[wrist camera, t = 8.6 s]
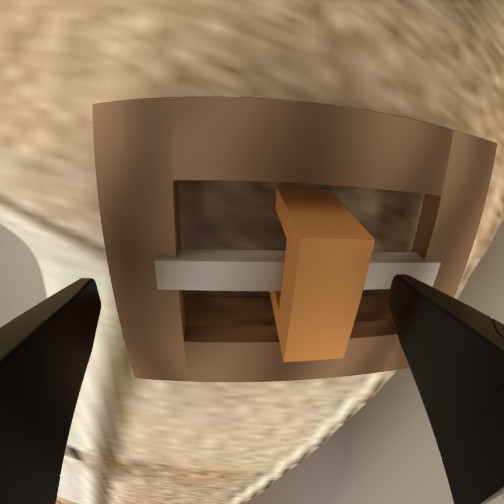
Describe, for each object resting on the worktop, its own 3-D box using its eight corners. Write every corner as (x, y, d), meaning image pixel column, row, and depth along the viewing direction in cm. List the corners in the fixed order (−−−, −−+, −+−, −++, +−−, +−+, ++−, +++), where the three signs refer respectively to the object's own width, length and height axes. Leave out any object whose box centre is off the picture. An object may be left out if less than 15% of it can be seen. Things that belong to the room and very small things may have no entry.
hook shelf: (435, 124, 19) (500, 144, 13) (390, 313, 26) (424, 368, 20) (134, 99, 17) (90, 104, 11) (151, 315, 24) (134, 381, 18)
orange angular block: (329, 189, 18) (375, 239, 12) (314, 286, 21) (343, 357, 15) (276, 187, 18) (300, 238, 12) (268, 286, 20) (283, 362, 15)
